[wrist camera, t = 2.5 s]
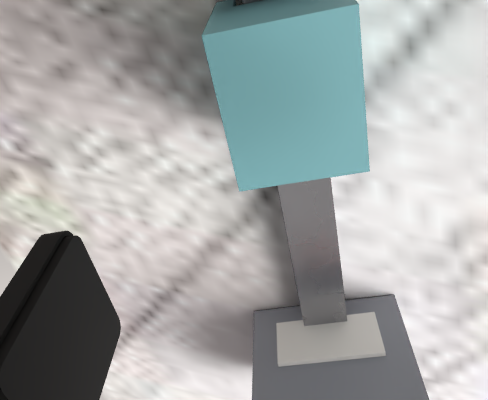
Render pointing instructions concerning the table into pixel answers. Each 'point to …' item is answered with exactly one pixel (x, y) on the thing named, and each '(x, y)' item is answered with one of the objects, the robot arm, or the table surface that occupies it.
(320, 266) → the rail
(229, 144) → the carriage
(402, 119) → the table surface
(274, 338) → the housing
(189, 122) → the table surface
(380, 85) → the table surface
